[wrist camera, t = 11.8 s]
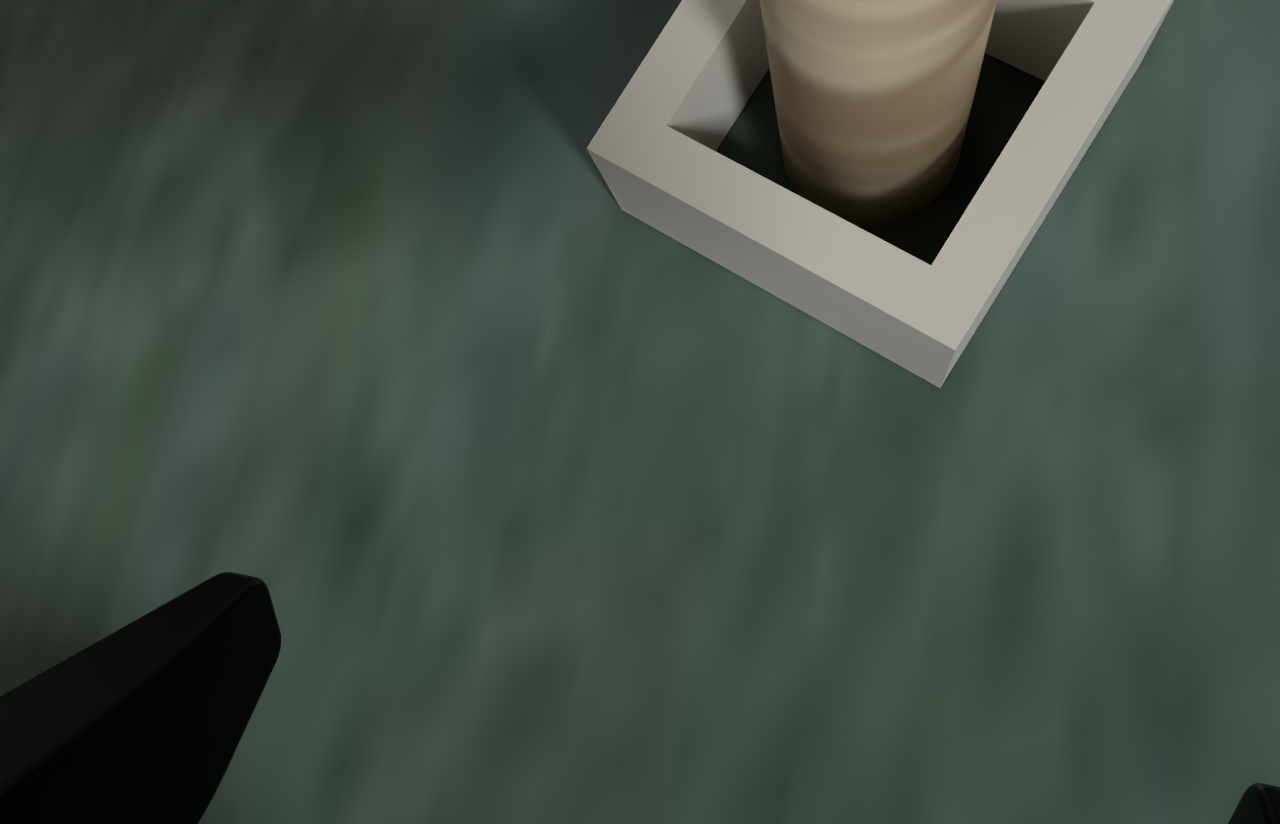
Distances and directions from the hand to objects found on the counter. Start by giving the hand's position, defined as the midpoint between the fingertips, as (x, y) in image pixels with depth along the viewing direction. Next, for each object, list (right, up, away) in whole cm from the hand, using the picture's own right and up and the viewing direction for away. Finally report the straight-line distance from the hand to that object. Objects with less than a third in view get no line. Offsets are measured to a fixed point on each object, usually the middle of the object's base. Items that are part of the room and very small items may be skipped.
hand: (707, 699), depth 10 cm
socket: (+5, +9, +15) cm, 18 cm away
